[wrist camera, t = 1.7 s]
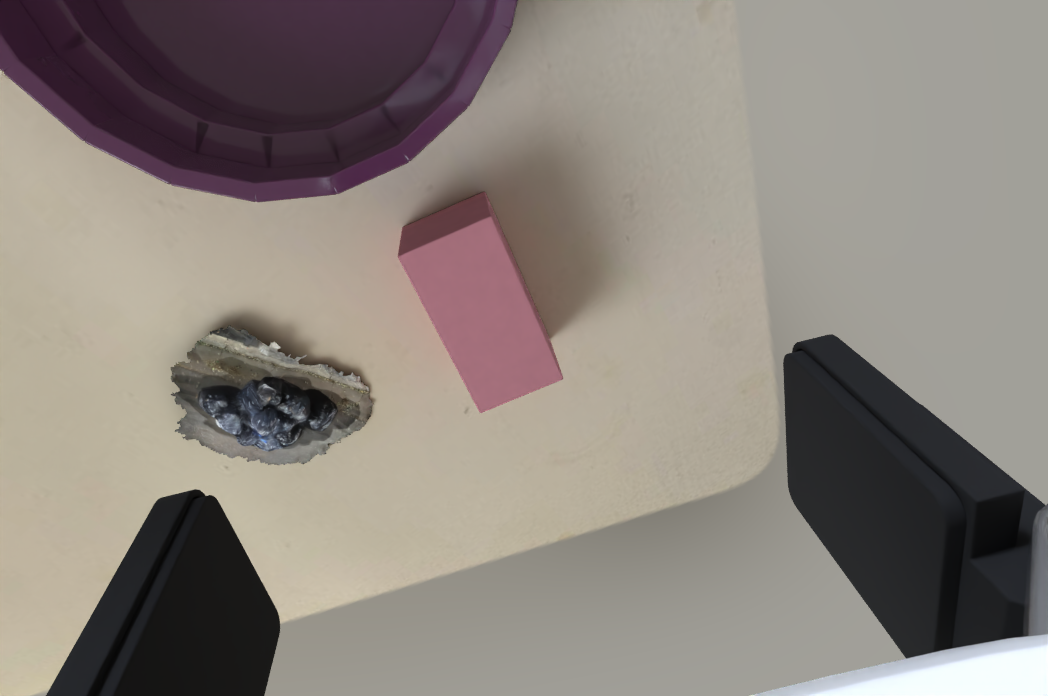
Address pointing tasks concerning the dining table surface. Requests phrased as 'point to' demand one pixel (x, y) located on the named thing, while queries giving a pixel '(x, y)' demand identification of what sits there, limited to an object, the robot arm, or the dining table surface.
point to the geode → (264, 400)
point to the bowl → (255, 83)
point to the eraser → (479, 302)
